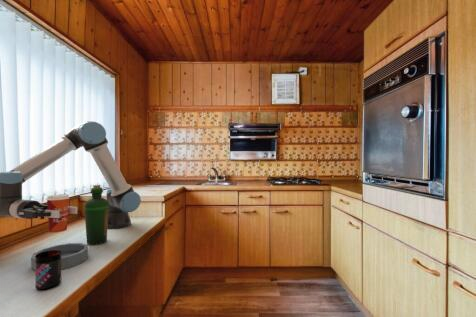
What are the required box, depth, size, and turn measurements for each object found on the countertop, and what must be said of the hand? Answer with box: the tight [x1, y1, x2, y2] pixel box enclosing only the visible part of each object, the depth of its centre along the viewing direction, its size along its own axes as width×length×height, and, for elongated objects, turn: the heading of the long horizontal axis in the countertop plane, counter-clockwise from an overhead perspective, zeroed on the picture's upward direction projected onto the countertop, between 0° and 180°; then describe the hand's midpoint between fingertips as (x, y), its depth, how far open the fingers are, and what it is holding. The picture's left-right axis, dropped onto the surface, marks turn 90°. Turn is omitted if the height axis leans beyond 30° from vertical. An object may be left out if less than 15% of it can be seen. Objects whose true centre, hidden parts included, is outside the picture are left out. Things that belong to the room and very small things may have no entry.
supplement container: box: [34, 250, 62, 292], centre depth 80 cm, size 7×7×10 cm
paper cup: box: [46, 193, 70, 233], centre depth 99 cm, size 8×8×14 cm
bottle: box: [83, 184, 109, 246], centre depth 122 cm, size 11×11×28 cm
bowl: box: [30, 242, 89, 272], centre depth 99 cm, size 18×18×4 cm
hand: (67, 212), depth 98 cm, fingers closed on paper cup, 7 cm apart
